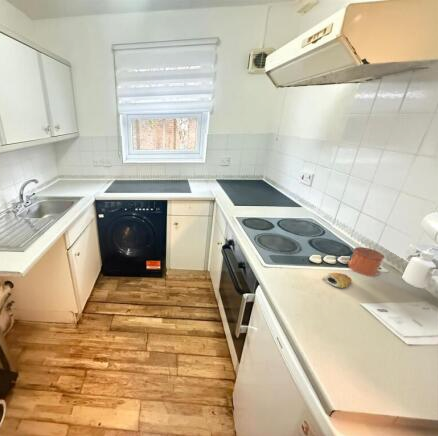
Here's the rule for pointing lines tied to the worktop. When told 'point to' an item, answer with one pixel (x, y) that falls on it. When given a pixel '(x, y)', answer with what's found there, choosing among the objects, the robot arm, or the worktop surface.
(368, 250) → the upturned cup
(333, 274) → the pastry
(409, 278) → the eye dropper bottle
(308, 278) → the worktop surface
